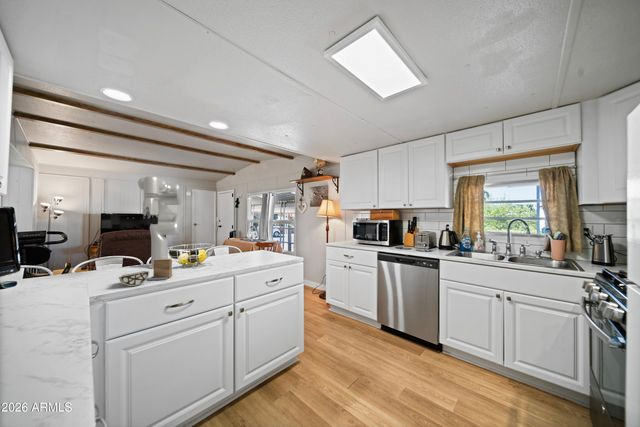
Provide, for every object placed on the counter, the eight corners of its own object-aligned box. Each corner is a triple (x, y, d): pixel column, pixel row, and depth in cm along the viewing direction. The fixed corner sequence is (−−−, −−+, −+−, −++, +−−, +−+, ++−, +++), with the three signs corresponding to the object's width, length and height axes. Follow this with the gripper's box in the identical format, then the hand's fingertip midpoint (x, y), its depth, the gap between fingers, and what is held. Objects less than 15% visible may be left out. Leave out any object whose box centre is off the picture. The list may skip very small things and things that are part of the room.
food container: (119, 287, 121) (119, 289, 114) (118, 275, 121) (118, 277, 114) (148, 281, 129) (150, 283, 122) (147, 270, 130) (149, 271, 122)
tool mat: (154, 276, 136) (154, 275, 136) (172, 276, 138) (172, 274, 138) (147, 281, 128) (147, 279, 128) (165, 280, 129) (165, 278, 130)
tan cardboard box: (156, 276, 134) (156, 259, 134) (171, 275, 136) (171, 258, 136) (153, 278, 131) (153, 260, 131) (169, 277, 132) (169, 259, 133)
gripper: (151, 197, 150) (151, 224, 150) (136, 195, 134) (136, 225, 133) (164, 197, 152) (164, 224, 152) (151, 195, 135) (151, 225, 135)
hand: (151, 224), depth 143 cm, fingers open, 9 cm apart
